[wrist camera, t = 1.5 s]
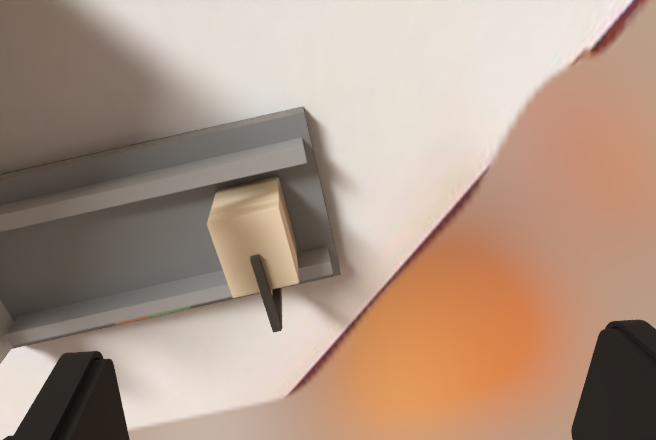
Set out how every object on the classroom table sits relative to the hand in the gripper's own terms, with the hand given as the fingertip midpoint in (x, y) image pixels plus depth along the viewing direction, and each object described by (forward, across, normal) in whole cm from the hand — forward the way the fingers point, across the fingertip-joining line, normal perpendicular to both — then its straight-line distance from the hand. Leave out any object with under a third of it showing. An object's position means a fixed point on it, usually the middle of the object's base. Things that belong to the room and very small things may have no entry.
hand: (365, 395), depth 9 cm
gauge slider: (+23, +3, +7) cm, 24 cm away
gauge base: (+24, +11, +8) cm, 28 cm away
